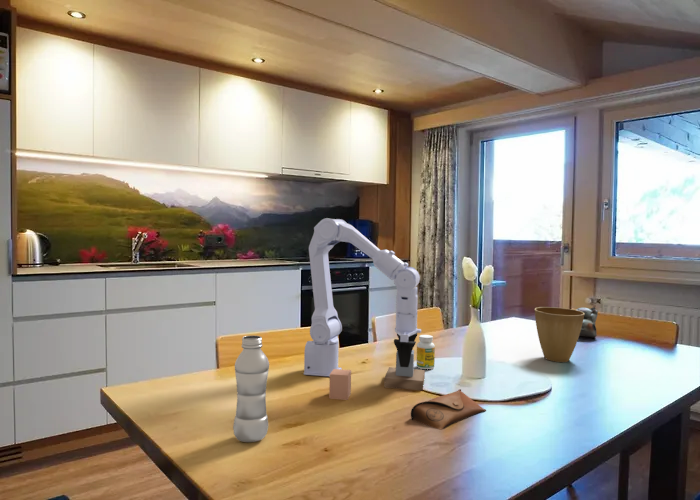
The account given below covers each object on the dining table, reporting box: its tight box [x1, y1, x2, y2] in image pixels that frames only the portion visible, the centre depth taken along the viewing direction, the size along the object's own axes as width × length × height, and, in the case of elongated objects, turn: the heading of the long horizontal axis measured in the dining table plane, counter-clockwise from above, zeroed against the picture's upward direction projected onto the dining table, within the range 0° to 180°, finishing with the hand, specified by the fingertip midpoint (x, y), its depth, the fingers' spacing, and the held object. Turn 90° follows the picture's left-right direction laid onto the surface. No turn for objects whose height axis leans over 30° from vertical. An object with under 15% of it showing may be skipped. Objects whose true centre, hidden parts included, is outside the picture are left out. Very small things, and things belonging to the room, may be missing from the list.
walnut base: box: [383, 366, 426, 391], centre depth 130 cm, size 10×10×3 cm
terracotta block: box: [328, 369, 352, 401], centre depth 119 cm, size 4×4×6 cm
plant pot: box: [534, 306, 584, 363], centre depth 157 cm, size 15×15×16 cm
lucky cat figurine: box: [576, 307, 599, 339], centre depth 193 cm, size 15×12×14 cm
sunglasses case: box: [410, 389, 487, 431], centre depth 109 cm, size 18×7×7 cm, turn 133°
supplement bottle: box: [416, 334, 436, 371], centre depth 145 cm, size 5×5×10 cm
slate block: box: [395, 349, 415, 377], centre depth 130 cm, size 4×4×6 cm
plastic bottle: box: [232, 335, 270, 443], centre depth 94 cm, size 6×7×20 cm
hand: (405, 362), depth 130 cm, fingers open, 7 cm apart
